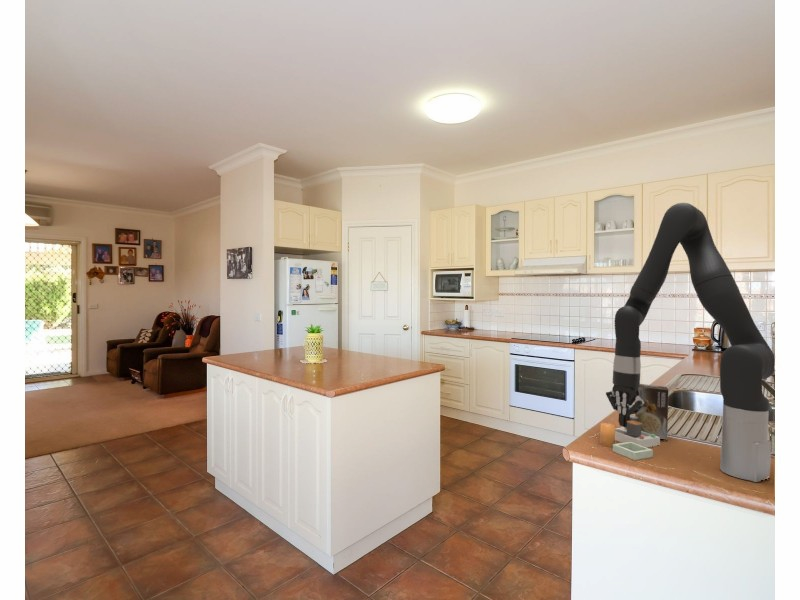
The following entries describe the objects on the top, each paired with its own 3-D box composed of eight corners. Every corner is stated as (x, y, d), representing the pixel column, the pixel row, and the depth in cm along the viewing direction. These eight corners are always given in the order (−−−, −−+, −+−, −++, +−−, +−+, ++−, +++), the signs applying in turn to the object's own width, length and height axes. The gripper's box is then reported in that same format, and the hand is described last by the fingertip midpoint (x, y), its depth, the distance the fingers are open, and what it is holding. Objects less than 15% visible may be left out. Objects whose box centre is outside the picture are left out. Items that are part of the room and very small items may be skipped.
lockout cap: (617, 445, 133) (618, 425, 133) (608, 447, 131) (608, 427, 131) (606, 441, 136) (607, 422, 136) (597, 443, 135) (597, 423, 135)
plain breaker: (637, 429, 140) (638, 417, 140) (632, 430, 139) (632, 417, 139) (629, 426, 143) (629, 414, 143) (623, 427, 142) (624, 415, 142)
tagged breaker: (641, 435, 134) (641, 422, 134) (635, 436, 133) (636, 423, 133) (632, 432, 137) (632, 420, 137) (626, 433, 136) (626, 420, 135)
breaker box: (659, 445, 134) (660, 434, 134) (639, 448, 131) (639, 437, 131) (627, 434, 144) (628, 424, 144) (607, 437, 141) (608, 426, 141)
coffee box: (666, 435, 144) (668, 386, 144) (667, 441, 139) (669, 390, 138) (634, 430, 149) (636, 383, 148) (634, 436, 143) (636, 386, 143)
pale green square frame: (652, 457, 124) (653, 449, 124) (634, 460, 121) (635, 452, 121) (630, 448, 131) (630, 441, 131) (612, 451, 128) (612, 444, 128)
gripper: (654, 373, 133) (651, 431, 133) (617, 366, 145) (614, 418, 145) (637, 375, 130) (634, 433, 130) (600, 367, 142) (597, 420, 142)
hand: (623, 425), depth 138 cm, fingers closed
